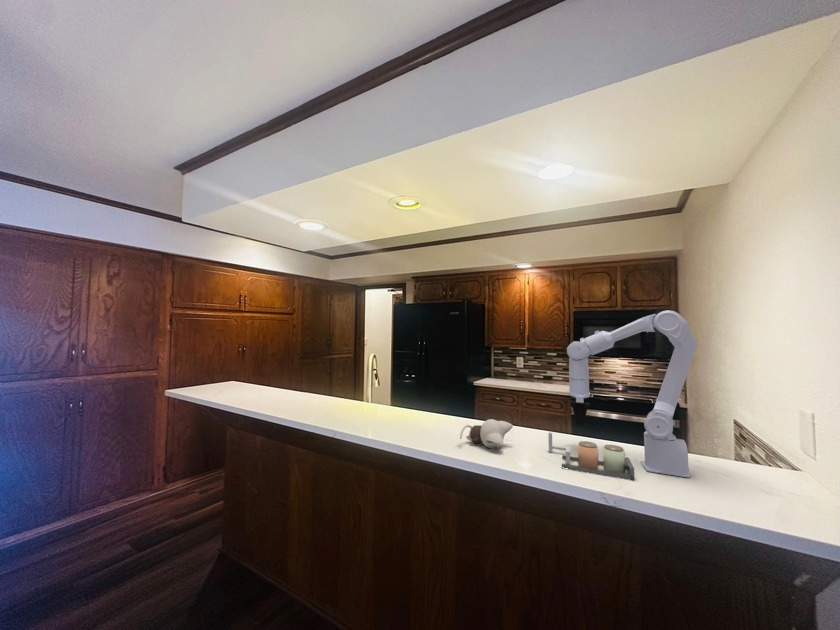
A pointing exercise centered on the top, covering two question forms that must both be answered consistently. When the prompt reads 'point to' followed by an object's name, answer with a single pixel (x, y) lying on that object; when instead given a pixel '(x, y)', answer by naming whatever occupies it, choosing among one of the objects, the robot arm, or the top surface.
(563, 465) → the lane
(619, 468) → the jar
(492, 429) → the toy
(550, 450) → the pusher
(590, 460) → the jar
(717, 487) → the top surface
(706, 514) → the top surface
